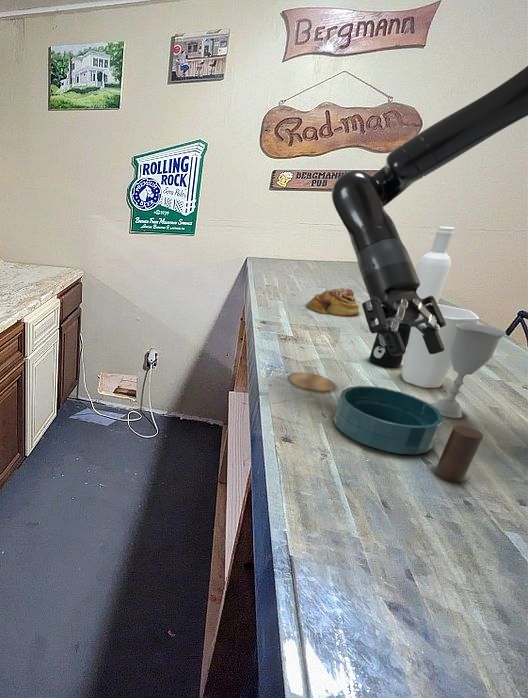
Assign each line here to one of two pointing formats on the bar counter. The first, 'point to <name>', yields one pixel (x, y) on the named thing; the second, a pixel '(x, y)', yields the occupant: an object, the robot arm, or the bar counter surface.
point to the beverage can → (381, 352)
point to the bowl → (387, 419)
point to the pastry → (335, 303)
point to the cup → (436, 366)
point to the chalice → (468, 359)
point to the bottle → (435, 265)
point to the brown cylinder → (458, 453)
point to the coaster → (312, 382)
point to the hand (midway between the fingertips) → (418, 353)
